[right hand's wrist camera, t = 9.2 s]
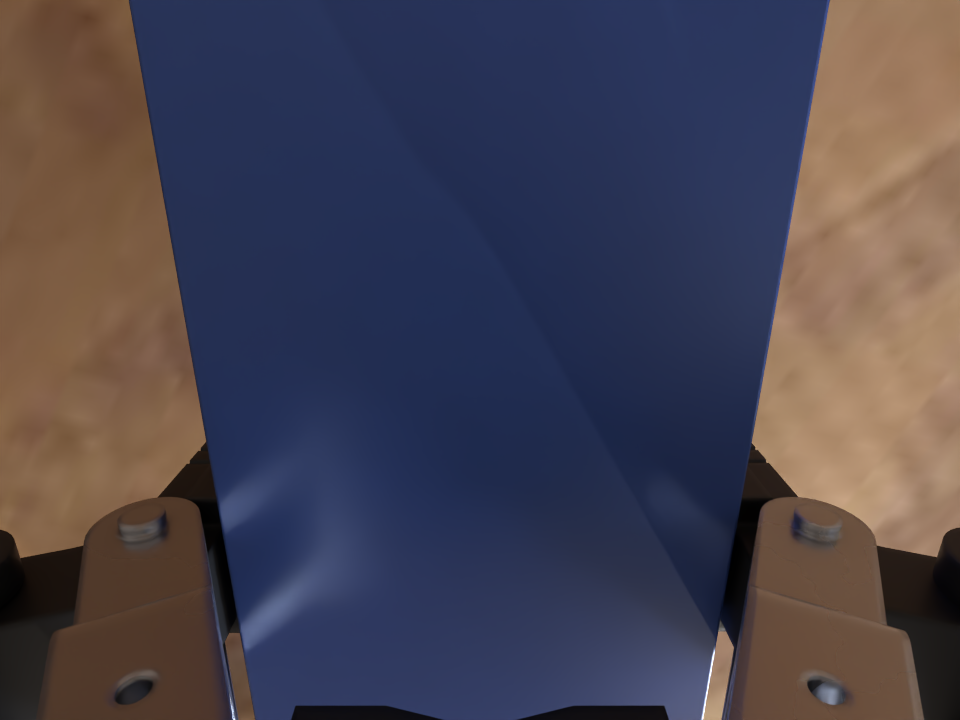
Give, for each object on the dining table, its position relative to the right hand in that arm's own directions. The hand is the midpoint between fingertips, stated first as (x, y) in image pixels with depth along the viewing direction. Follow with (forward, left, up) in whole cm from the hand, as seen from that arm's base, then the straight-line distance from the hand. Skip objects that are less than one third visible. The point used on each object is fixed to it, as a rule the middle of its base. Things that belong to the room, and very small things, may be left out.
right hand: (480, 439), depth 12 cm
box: (+8, +5, -6) cm, 12 cm away
